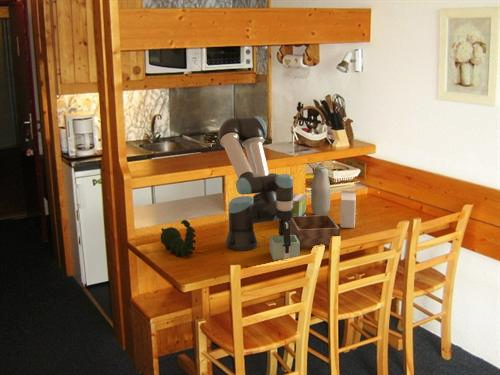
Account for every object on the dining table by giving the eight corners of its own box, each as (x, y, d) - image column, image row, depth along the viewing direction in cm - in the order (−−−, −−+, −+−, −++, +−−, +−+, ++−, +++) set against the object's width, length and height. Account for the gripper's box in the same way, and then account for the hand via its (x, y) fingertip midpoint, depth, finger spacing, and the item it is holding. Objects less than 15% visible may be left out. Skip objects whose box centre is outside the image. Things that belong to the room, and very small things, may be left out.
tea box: (299, 228, 341) (299, 200, 338) (280, 226, 344) (280, 199, 341) (306, 220, 355) (306, 193, 351) (288, 218, 358) (288, 192, 354)
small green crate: (273, 260, 296) (273, 244, 294) (269, 252, 307) (269, 236, 305) (299, 259, 297) (299, 242, 295) (295, 251, 308) (295, 234, 306)
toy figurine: (200, 260, 303) (169, 242, 321) (201, 221, 297) (170, 205, 315) (183, 265, 297) (153, 246, 315) (183, 226, 291) (153, 209, 309)
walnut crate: (298, 248, 312) (298, 230, 309) (289, 233, 333) (289, 216, 331) (339, 246, 314) (339, 228, 312) (328, 231, 335) (329, 214, 333)
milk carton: (354, 228, 340) (355, 192, 335) (340, 227, 341) (341, 192, 337) (354, 224, 347) (355, 189, 342) (341, 223, 348) (342, 188, 343)
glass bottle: (316, 212, 369) (317, 163, 362) (333, 214, 363) (334, 165, 356) (307, 216, 361) (308, 166, 354) (324, 219, 355) (324, 168, 348)
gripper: (297, 215, 286) (297, 263, 291) (288, 201, 308) (288, 245, 314) (280, 216, 285) (280, 264, 290) (272, 202, 307) (272, 246, 313)
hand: (284, 254), depth 302 cm, fingers closed on small green crate, 11 cm apart
